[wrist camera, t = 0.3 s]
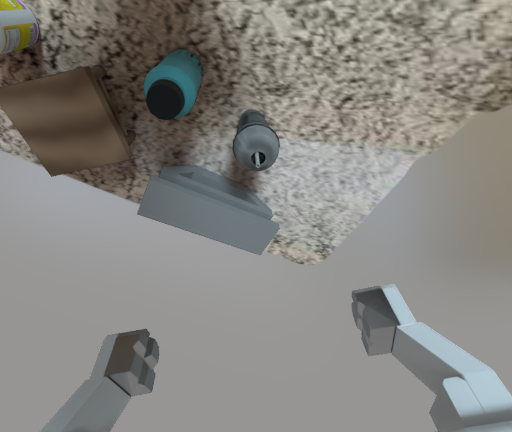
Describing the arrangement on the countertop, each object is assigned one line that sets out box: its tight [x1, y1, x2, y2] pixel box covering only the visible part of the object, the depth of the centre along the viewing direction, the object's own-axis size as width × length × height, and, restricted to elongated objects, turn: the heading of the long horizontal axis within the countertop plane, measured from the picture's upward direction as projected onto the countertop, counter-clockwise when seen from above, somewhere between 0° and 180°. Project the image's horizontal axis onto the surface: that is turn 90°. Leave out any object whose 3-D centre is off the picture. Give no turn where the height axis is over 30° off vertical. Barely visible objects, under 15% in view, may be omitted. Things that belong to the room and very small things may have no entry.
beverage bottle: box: [144, 48, 204, 120], centre depth 40 cm, size 6×7×20 cm
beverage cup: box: [233, 109, 280, 171], centre depth 46 cm, size 7×7×20 cm
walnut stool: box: [0, 65, 136, 177], centre depth 48 cm, size 14×14×8 cm
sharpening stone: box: [137, 165, 280, 255], centre depth 58 cm, size 25×8×11 cm, turn 62°
